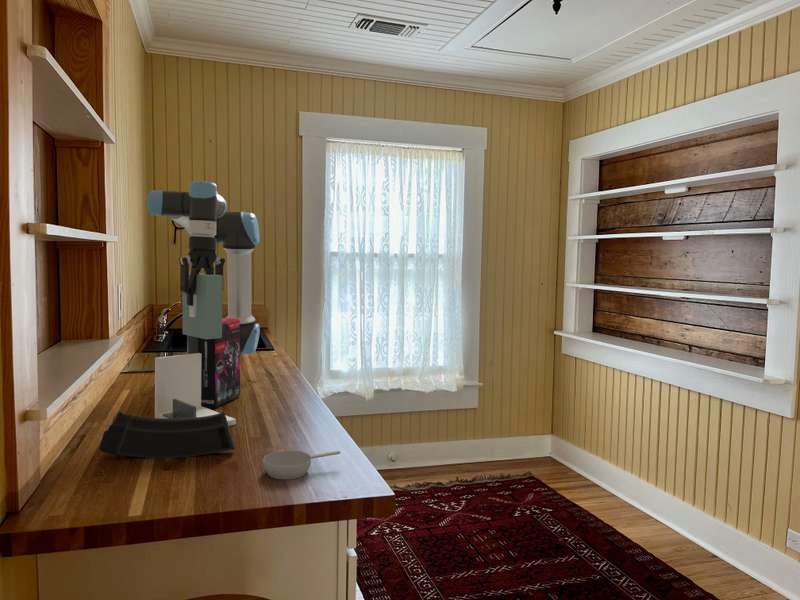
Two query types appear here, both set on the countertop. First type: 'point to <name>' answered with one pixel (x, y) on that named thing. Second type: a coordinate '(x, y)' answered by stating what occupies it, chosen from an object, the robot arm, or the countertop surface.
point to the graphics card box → (220, 365)
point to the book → (205, 308)
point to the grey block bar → (181, 410)
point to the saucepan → (290, 463)
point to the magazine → (166, 436)
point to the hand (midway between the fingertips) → (201, 316)
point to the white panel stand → (180, 384)
